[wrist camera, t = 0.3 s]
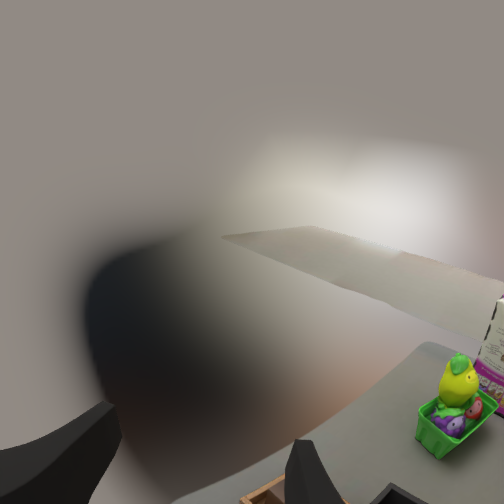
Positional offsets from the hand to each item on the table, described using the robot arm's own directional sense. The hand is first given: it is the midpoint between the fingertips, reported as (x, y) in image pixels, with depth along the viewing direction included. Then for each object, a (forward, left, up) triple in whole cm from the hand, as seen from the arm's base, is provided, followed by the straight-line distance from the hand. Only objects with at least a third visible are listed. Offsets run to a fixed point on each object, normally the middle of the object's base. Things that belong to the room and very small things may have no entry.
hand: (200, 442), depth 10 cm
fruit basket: (+14, -28, -19) cm, 37 cm away
